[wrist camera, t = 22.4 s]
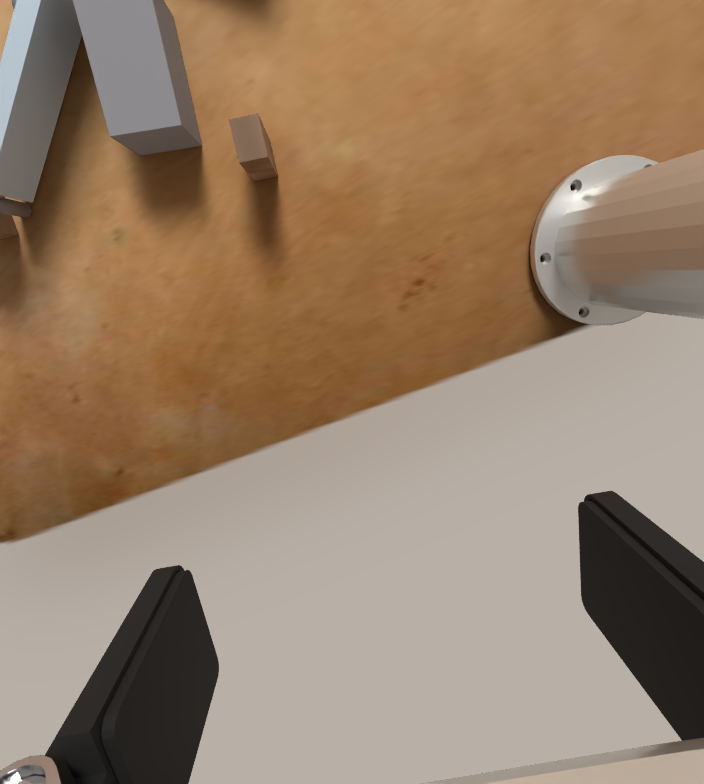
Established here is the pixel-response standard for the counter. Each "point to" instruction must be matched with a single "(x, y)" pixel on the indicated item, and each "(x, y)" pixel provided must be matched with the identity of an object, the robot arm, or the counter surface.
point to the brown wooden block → (7, 225)
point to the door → (33, 93)
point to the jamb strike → (253, 147)
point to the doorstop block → (139, 74)
